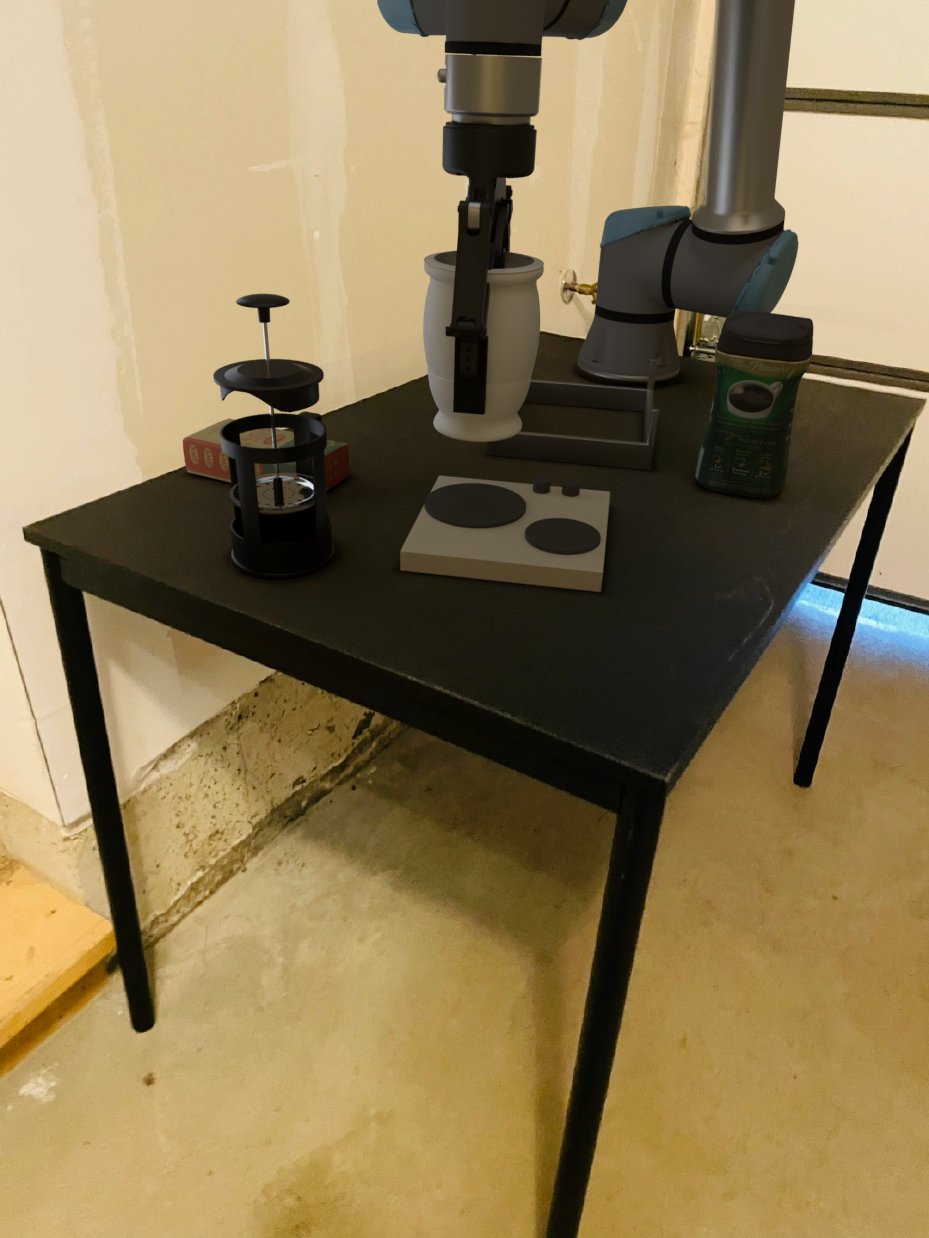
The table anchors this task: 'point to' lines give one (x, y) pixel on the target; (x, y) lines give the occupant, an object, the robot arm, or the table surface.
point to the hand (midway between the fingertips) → (479, 393)
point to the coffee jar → (754, 402)
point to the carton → (212, 462)
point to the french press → (277, 496)
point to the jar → (508, 345)
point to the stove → (511, 533)
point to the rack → (586, 447)
